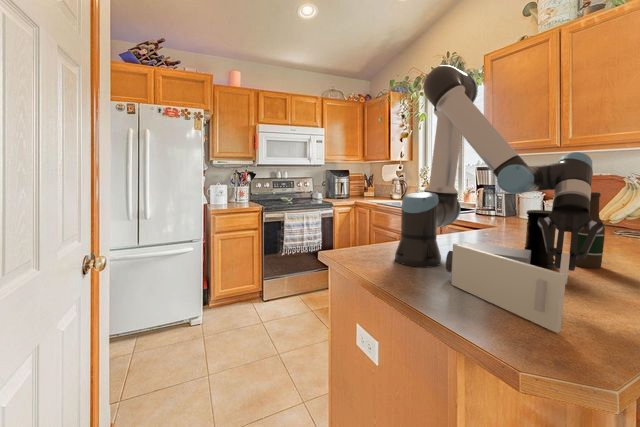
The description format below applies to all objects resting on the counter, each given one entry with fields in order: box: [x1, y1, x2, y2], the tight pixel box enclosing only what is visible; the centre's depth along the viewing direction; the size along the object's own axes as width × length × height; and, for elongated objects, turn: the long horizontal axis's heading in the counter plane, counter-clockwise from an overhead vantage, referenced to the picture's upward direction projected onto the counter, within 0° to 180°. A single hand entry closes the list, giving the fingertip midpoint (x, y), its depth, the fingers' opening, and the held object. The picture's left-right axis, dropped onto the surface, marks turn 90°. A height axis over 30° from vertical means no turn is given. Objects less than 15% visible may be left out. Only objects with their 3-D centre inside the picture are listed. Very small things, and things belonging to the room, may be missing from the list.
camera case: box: [445, 242, 531, 273], centre depth 83 cm, size 19×10×10 cm, turn 52°
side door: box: [450, 243, 566, 333], centre depth 70 cm, size 28×2×11 cm, turn 19°
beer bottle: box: [575, 191, 606, 270], centre depth 100 cm, size 8×8×24 cm
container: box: [523, 209, 557, 270], centre depth 101 cm, size 9×9×18 cm
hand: (563, 280), depth 70 cm, fingers closed
